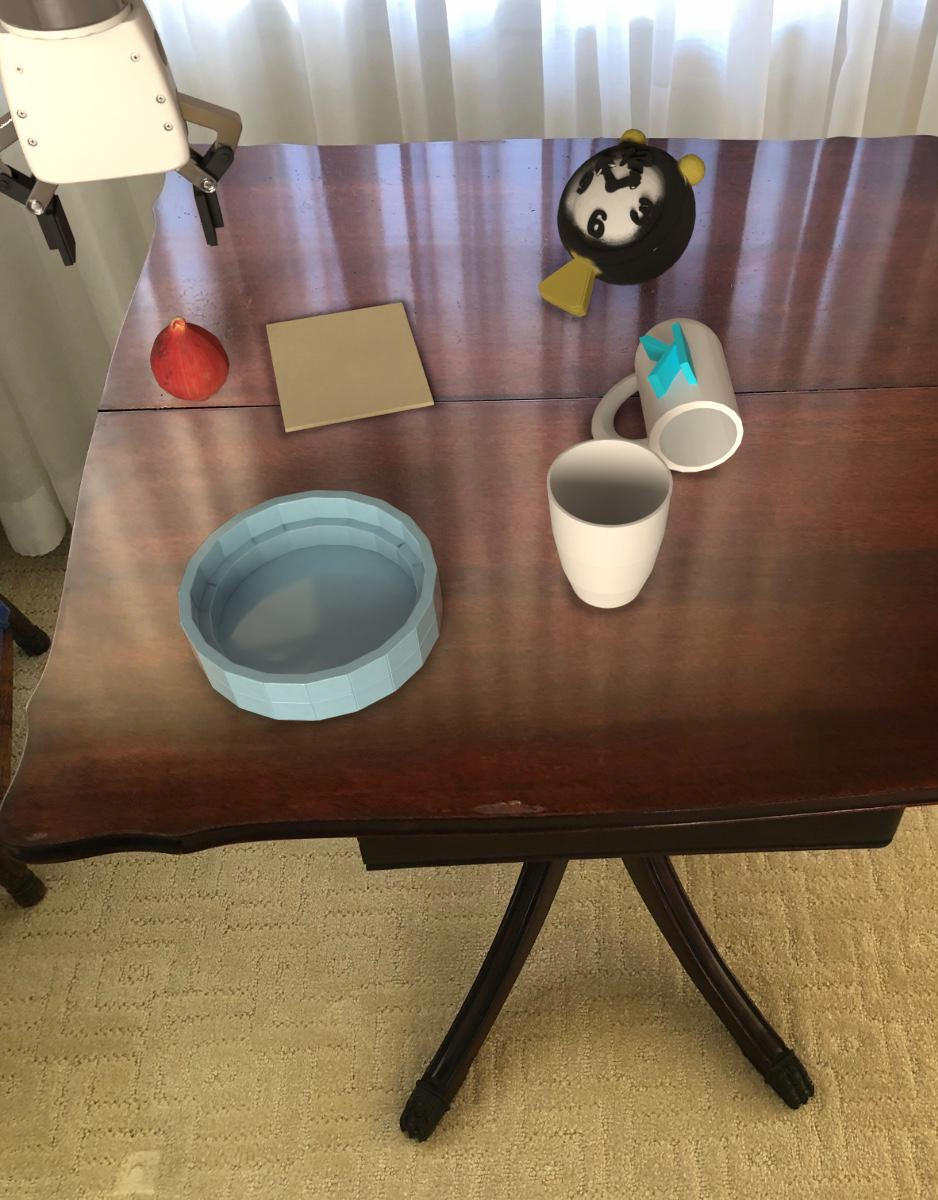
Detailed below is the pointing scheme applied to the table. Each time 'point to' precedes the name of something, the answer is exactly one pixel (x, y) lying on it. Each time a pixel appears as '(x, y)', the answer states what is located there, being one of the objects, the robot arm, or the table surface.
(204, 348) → the onion
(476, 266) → the table surface
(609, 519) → the cup
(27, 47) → the robot arm
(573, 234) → the alarm clock
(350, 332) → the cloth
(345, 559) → the pan
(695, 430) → the mug
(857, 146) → the table surface
